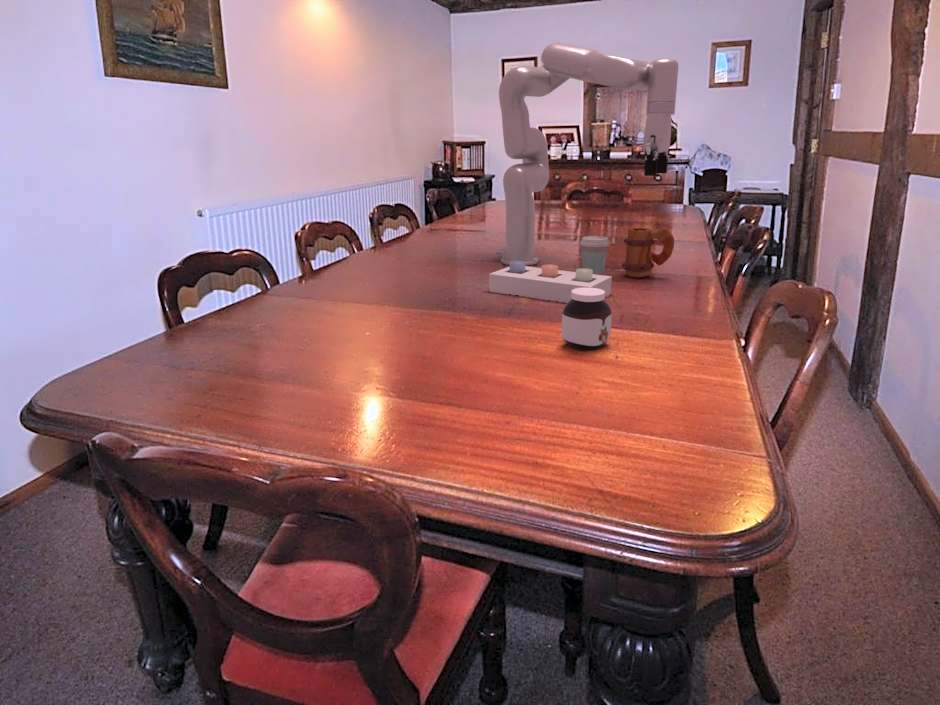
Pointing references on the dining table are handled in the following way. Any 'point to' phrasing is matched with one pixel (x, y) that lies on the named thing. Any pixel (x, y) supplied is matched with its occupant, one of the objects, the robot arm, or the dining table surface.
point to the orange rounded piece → (549, 271)
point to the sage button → (584, 275)
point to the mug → (646, 250)
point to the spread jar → (586, 319)
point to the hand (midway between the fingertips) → (655, 174)
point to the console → (543, 284)
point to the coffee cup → (594, 253)
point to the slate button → (517, 267)
